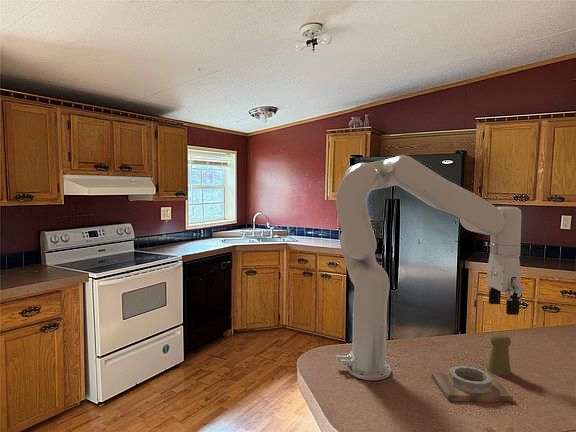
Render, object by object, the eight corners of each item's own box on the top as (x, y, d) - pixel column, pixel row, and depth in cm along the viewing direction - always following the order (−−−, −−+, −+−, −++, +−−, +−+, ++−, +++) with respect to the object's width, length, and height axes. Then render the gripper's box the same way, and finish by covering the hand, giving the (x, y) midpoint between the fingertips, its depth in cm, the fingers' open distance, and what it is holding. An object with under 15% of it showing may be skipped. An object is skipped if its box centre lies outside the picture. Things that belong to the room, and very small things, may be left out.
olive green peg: (514, 377, 110) (516, 339, 109) (490, 375, 111) (492, 337, 111) (506, 367, 116) (508, 331, 115) (484, 365, 117) (486, 330, 116)
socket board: (448, 400, 98) (448, 385, 97) (431, 377, 110) (432, 363, 109) (512, 402, 97) (513, 386, 97) (489, 378, 109) (489, 364, 109)
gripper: (477, 245, 120) (476, 300, 121) (507, 255, 103) (505, 319, 104) (502, 245, 120) (500, 300, 121) (536, 255, 102) (534, 319, 104)
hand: (503, 308), depth 112 cm, fingers open, 9 cm apart
